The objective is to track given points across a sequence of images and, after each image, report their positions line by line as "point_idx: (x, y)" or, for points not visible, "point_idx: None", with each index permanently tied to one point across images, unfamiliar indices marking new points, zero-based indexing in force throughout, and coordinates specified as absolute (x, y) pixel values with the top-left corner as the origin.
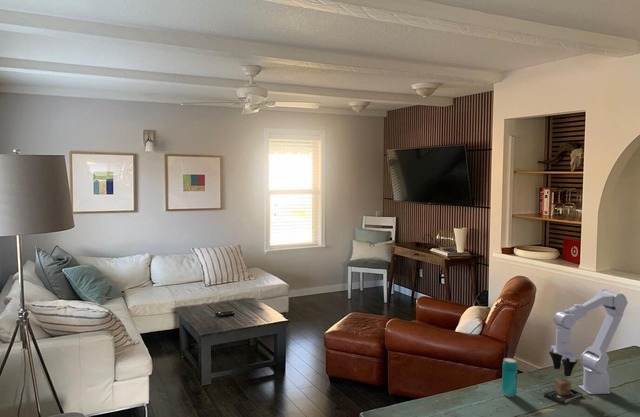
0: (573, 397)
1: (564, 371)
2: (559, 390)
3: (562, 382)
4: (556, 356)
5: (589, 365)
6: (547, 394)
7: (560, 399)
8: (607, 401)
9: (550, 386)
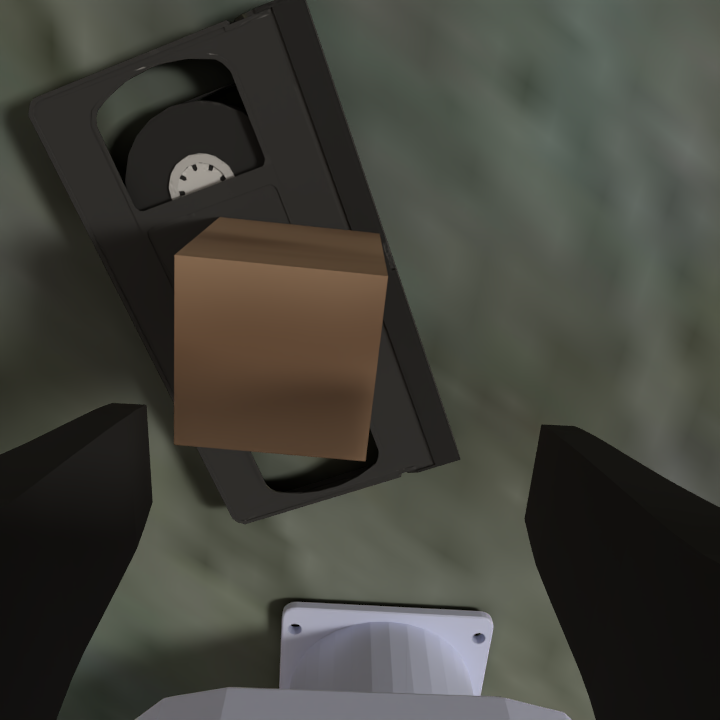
0: (155, 360)
1: (88, 434)
2: (232, 229)
3: (215, 319)
4: (695, 707)
5: None
6: (268, 28)
7: (83, 129)
8: (115, 656)
9: (588, 311)
